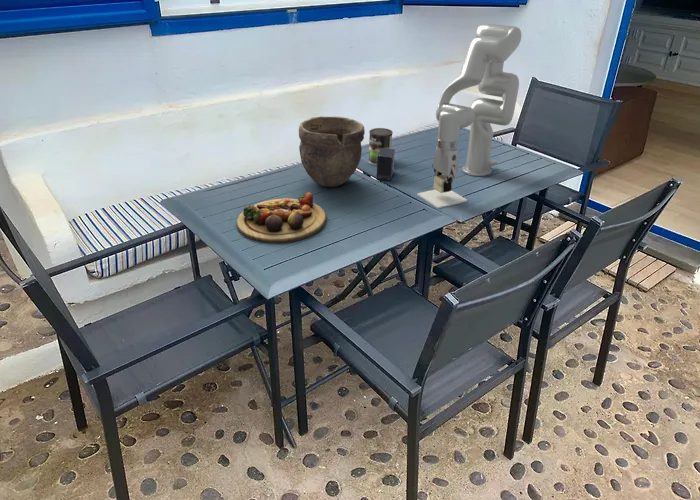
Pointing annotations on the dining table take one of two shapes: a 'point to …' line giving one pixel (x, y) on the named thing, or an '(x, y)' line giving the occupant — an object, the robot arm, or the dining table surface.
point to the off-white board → (441, 198)
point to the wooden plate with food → (282, 220)
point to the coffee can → (378, 142)
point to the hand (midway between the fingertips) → (442, 188)
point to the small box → (385, 164)
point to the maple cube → (440, 183)
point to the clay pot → (330, 148)
